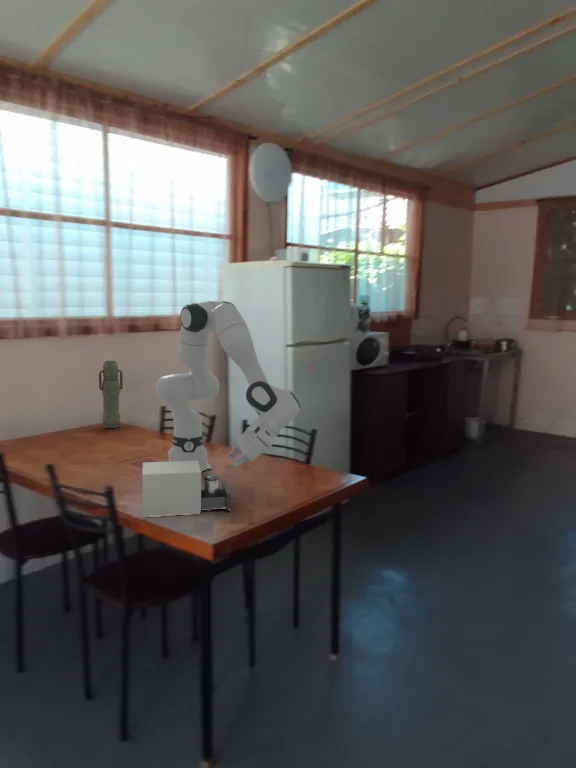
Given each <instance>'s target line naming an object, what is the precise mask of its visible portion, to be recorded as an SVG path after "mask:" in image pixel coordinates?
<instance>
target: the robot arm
mask: <svg viewBox="0 0 576 768" xmlns="http://www.w3.org/2000/svg"><path fill="white" fill-rule="evenodd" d="M179 316H180V323H181V327H180V332H179V337H178V348H177V355H176V356H177V359H178V361H179V363H180V364H181V365H183V366H185V367H187V368H188V369H189V370H188V372H187V373H170V374H167V375H163V376H160V377H159V378H158V380H157V381H156V384H155V393H156V395H157V397H158V399H159V400H160V401H161V402H163V403H164V404H166V406H167V407H168V408H169V410H170V412H171V416H172V420H173V435H172V447H171V448H170V449H169V451H168V452H167V457H168V460H167V462H174V461H198V463H199V467H200V470H201V473H203V472H202V471H204V470H206V469H210V468H212V465H210V463H208V450H207V448H206V447H205V446H204V445H203V444H204V435H203V417H202V415H201V413H199V412H198V411H196V410H195V409H192V408H191V407H190V404H189V402H194V401H207V400H209V399H212V398H216V396H217V395H218V394H219V391H220V381H219V379H218V377H217V376H216V375H215V374H213V373H212V371H211V370H210V368H209V366H208V362H207V359H208V346H209V338H210V333H212V332H215V335H216V336H217V339H218V341H219V343H220V345H221V347H222V348H223V350H224V352H225V353H226V354H227V356H228V357H229V358H230V359H231V360H232V361H233V362H234V363H235V364H236V365H237V366H238V367H239V369H240V370H241V371H242V372H243V374H244V377H245V379H246V380H247V383H248V384H249V386H248V387H247V389H246V392H245V399H246V401H247V403H248V405H249V406H250V407H251V408H252V409H253V410H254V411H255V412H256V414H257V415H258V417H257V418H255V420H253V422H252V423H251V424H249V426H248V428H247V429H246V430H245V431H244V432H243V433H241V434H240V435H239V436H238V437H237V438H236V440H235V443H236V445H235V447H234V448H233V450H232V451H231V452H230V453H229V454H228V456H229V458H230V459H231V460H233V461H232V465H233V466H234V467H235V468H238V467H239V466H240V465H241V464H243V463H245V462H246V461H248V462H254V461H255V460H257V458H258V457H260V456H261V455H262V454H263V453H264V452H265V451H266V450H267V448H271V447H272V446H273V445H274V442H275V439H276V437H277V436H278V435H279V434H280V432H281V431H282V430H283V429H284V428H286V427H288V425H290V424H291V423H292V421H293V420H294V419H295V418H296V417H297V415H299V413H300V411H301V403H300V401H299V400H298V399H297V397H296V396H295V394H294V393H293V392H292V390H286V389H281V388H278V387H276V386H274V385H271V384H270V383H269V382H268V380H267V377H266V376H265V374H264V372H263V369H262V368H261V365H260V363H259V360H258V357H257V353H256V350H255V345H254V341H253V339H252V336H251V331H250V330H249V328H248V325H247V323H246V321H245V319H244V318H243V316H242V315H241V313H240V312H239V310H238V309H237V307H236V306H235V304H234V303H232V302H229V301H218V300H215V301H213V300H212V301H210V300H209V301H202V302H191V303H187V304H185V305H183V307H182V309H181V310H180V315H179ZM240 452H241V454H240V455H239V457H237V455H238V454H239V453H240ZM236 457H237V459H235V458H236ZM210 470H211V469H210ZM206 471H207V470H206ZM204 472H205V471H204Z"/></svg>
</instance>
